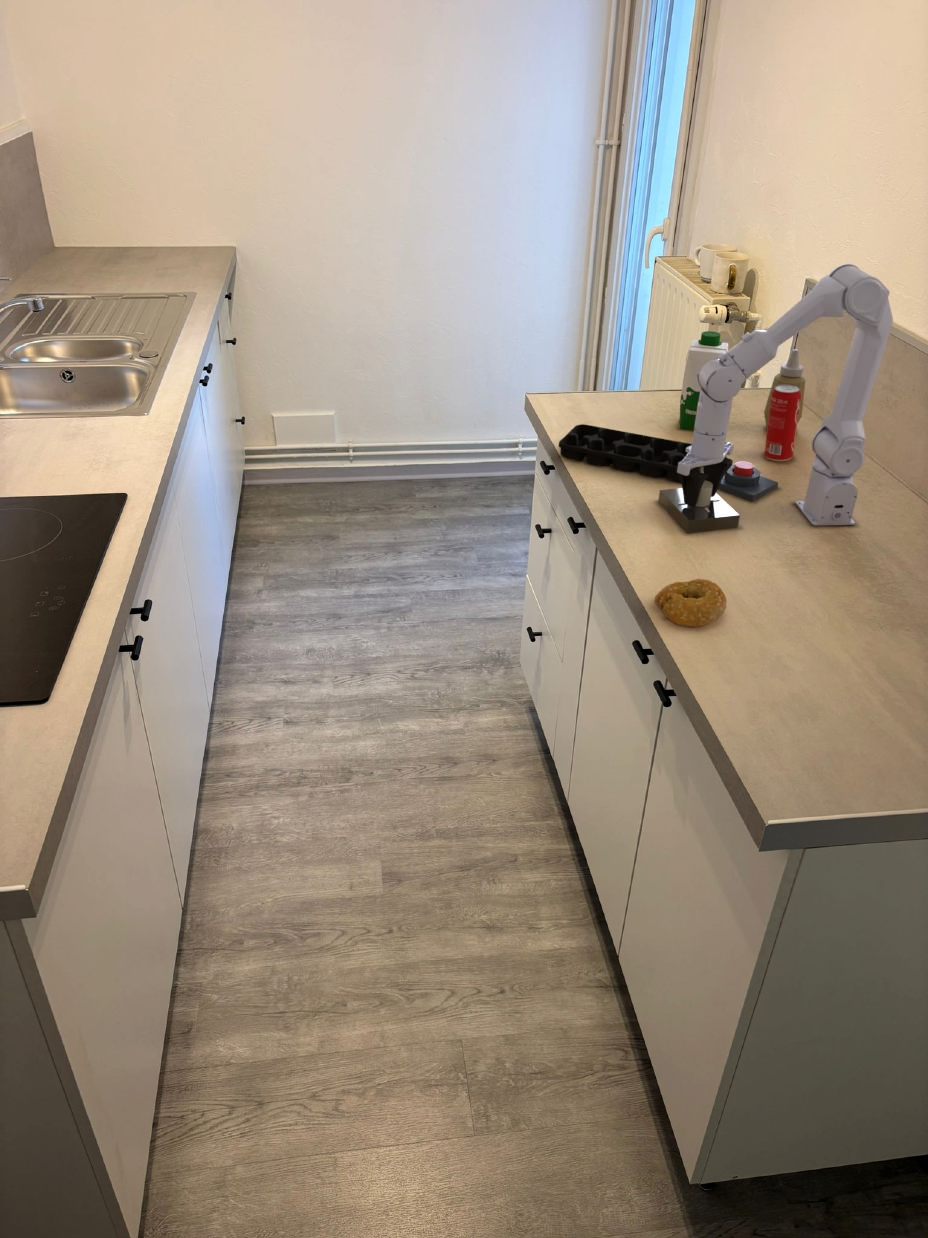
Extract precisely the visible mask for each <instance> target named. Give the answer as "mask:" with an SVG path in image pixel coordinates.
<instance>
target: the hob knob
mask: <svg viewBox="0 0 928 1238" xmlns="http://www.w3.org/2000/svg"><path fill="white" fill-rule="evenodd" d="M712 489H713V484H712V483H711V482H709V481H706V480H705V481H704V483H703V485H702V487H701V490H700V494H699V498H698V501H697V504H696V506H698V507H705V506H708V505H709V504H710V501H711V495H712Z"/></svg>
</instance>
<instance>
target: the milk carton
mask: <svg viewBox="0 0 928 1238" xmlns="http://www.w3.org/2000/svg"><path fill="white" fill-rule="evenodd" d="M689 346H690V347H689V348H688V351H687V354H686V357H685V365H684V371H683V377H682V385H681V393H680V401H679V429H680V430H685V431H693V432H694V426H695V420H696V413H697V406H698V402H699V396H700V389H701V387H700V385H699V384H698V381H697V374H698V373H699V372H701V368H702V367H703V366H704V365H705V364H706V363H707V362H709V361H711V360H715V359H719V355H721V354H722V353H724V354H725V353H727V352H728V351H729V342H723V341H721V334H720V333H719V332H716V331H711V330H710V331H709V330H707V331H702V332H701V334H700V339H692V341H691V343H690V345H689Z"/></svg>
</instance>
